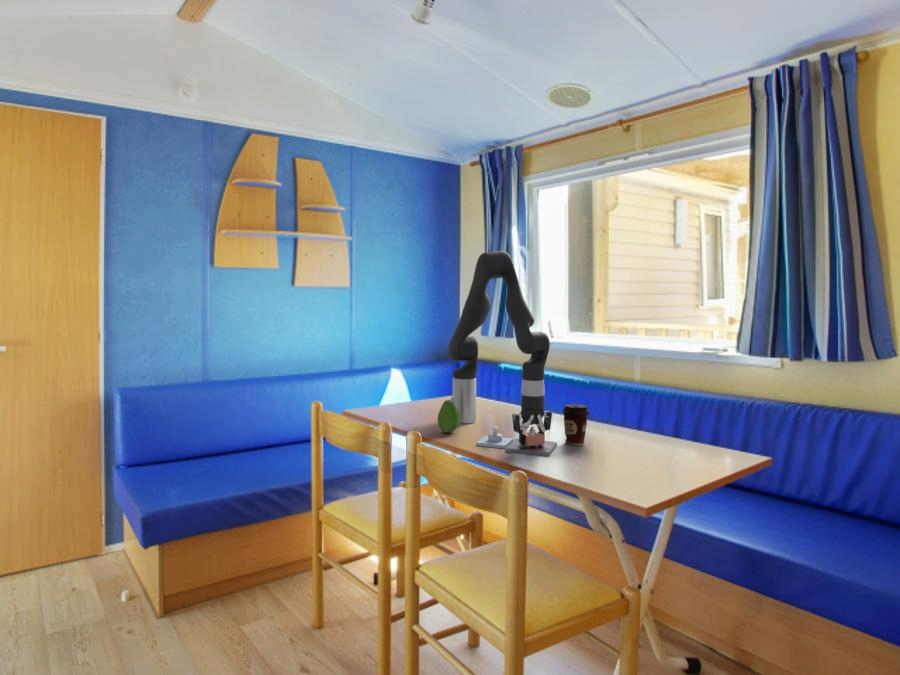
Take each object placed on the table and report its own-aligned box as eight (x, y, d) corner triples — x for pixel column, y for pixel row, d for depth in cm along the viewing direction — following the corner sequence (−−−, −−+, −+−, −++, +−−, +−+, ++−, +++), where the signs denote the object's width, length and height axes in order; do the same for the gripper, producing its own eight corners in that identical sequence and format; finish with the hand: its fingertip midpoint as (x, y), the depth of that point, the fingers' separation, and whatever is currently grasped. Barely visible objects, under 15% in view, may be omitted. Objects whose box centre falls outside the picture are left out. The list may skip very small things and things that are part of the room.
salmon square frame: (528, 446, 196) (528, 436, 196) (519, 441, 201) (519, 432, 201) (544, 444, 198) (544, 435, 198) (534, 440, 204) (534, 431, 204)
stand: (476, 445, 203) (476, 429, 203) (485, 438, 213) (485, 423, 212) (505, 448, 200) (505, 431, 200) (513, 441, 209) (513, 425, 209)
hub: (505, 451, 196) (505, 429, 195) (516, 441, 209) (516, 420, 208) (548, 456, 191) (549, 433, 191) (557, 445, 204) (557, 424, 204)
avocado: (442, 435, 217) (442, 402, 216) (434, 431, 224) (434, 398, 223) (463, 434, 220) (463, 401, 219) (454, 429, 227) (455, 397, 226)
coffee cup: (572, 447, 201) (573, 408, 200) (556, 442, 209) (557, 404, 208) (592, 445, 205) (593, 406, 204) (576, 439, 213) (577, 402, 212)
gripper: (519, 396, 192) (518, 449, 194) (558, 393, 198) (556, 444, 200) (507, 392, 199) (506, 443, 200) (545, 390, 205) (544, 439, 206)
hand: (531, 444), depth 200 cm, fingers open, 6 cm apart
